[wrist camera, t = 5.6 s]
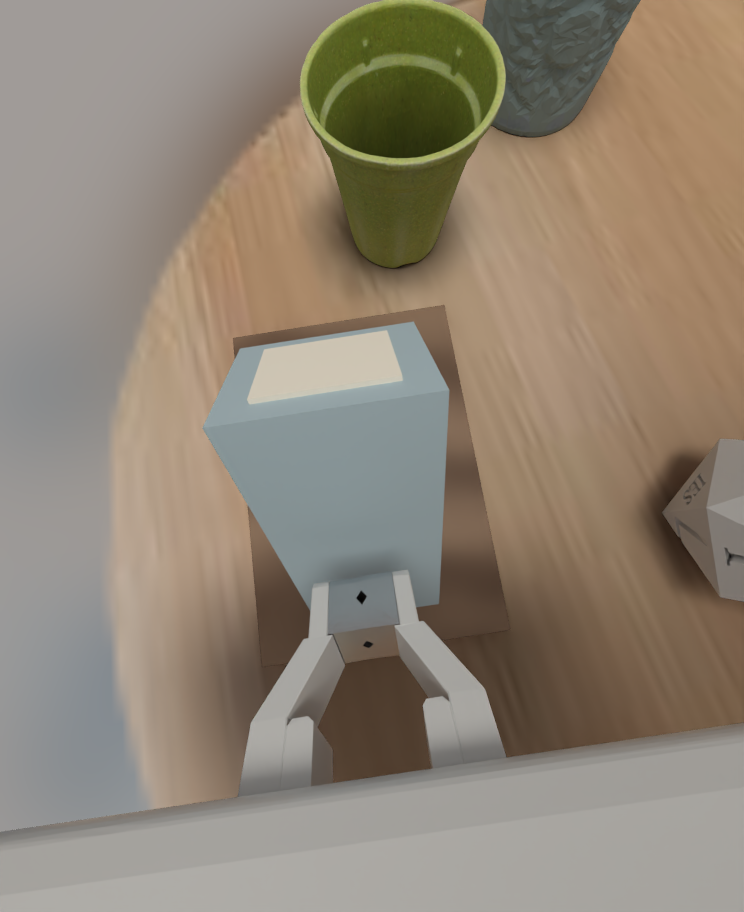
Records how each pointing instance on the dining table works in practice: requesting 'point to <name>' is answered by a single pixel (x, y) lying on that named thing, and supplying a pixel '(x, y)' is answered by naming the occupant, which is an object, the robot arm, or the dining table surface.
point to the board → (464, 516)
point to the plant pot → (401, 116)
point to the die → (714, 517)
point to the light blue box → (341, 453)
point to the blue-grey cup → (552, 57)
